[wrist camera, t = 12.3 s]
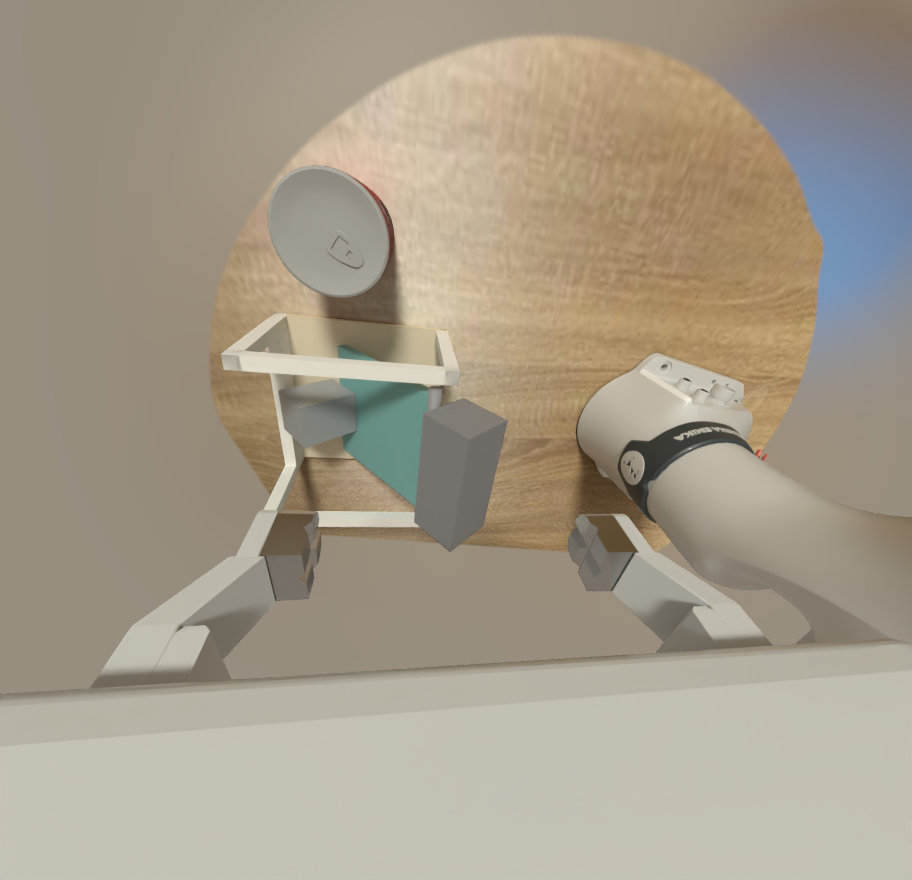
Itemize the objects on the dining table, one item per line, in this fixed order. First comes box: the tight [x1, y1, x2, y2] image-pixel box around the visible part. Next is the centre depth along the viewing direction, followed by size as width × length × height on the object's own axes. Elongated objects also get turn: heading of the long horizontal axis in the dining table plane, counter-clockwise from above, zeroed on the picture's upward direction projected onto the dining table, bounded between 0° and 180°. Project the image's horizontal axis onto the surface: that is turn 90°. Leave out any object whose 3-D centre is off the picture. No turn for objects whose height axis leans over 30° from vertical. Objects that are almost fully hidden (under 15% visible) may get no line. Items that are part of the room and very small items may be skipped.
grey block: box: [278, 379, 357, 448], centre depth 37 cm, size 5×5×6 cm
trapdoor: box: [338, 345, 508, 552], centre depth 35 cm, size 20×14×5 cm
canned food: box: [267, 165, 394, 298], centre depth 28 cm, size 8×8×11 cm
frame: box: [221, 313, 460, 527], centre depth 36 cm, size 18×18×12 cm
